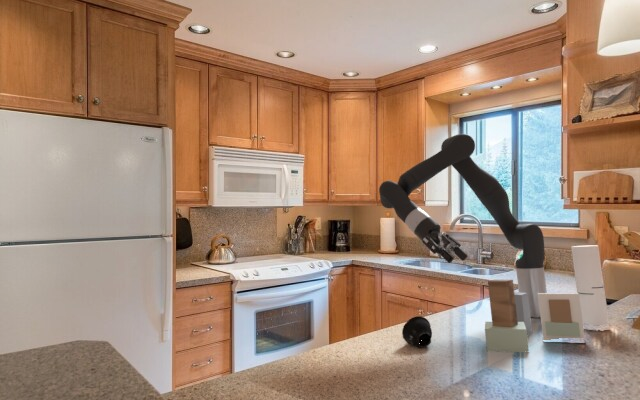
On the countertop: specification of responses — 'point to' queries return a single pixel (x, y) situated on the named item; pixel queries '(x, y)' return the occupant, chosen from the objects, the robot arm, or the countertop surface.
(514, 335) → the sage base block
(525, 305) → the slate block
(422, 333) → the small rounded object
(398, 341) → the countertop surface
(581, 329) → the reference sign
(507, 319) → the walnut block
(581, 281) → the cylindrical container
